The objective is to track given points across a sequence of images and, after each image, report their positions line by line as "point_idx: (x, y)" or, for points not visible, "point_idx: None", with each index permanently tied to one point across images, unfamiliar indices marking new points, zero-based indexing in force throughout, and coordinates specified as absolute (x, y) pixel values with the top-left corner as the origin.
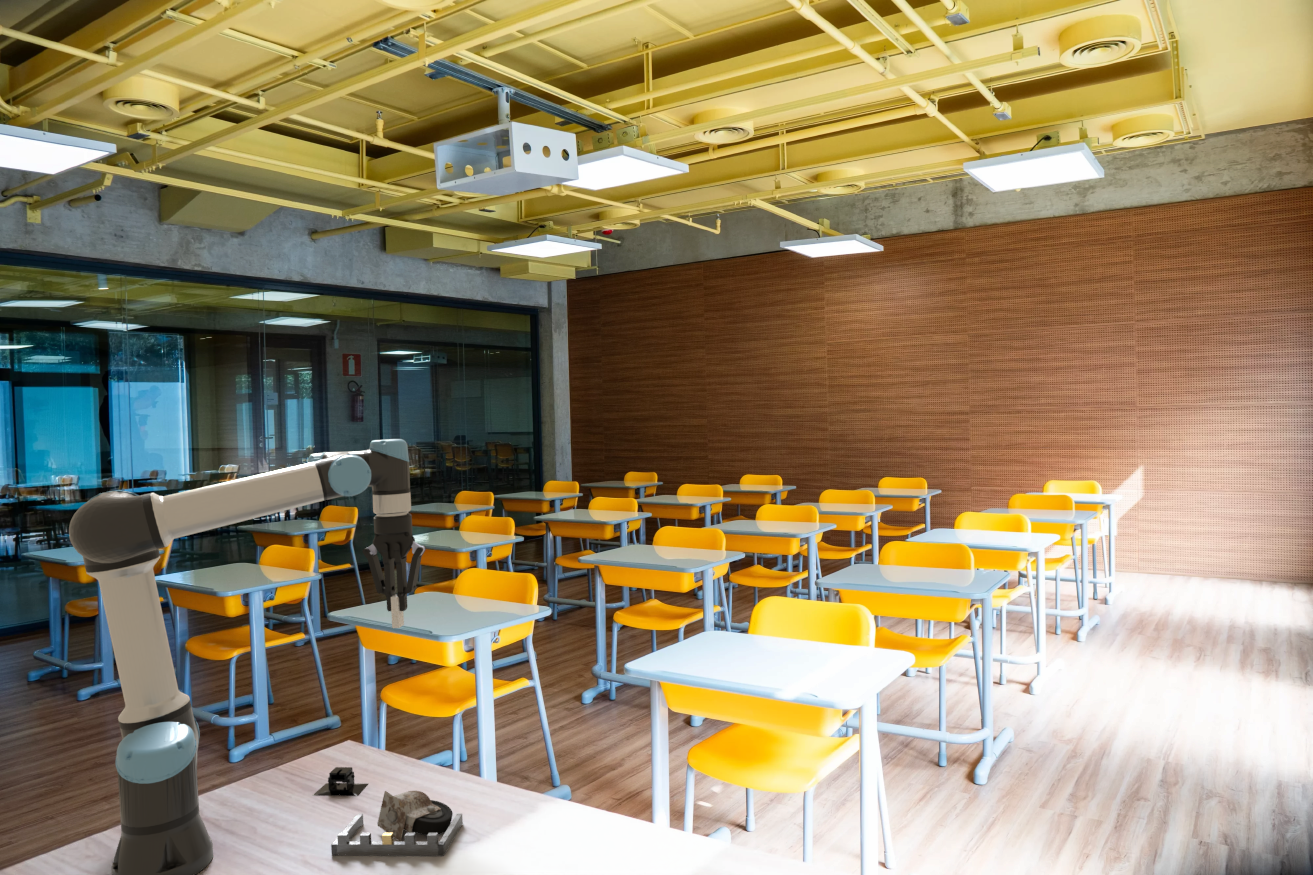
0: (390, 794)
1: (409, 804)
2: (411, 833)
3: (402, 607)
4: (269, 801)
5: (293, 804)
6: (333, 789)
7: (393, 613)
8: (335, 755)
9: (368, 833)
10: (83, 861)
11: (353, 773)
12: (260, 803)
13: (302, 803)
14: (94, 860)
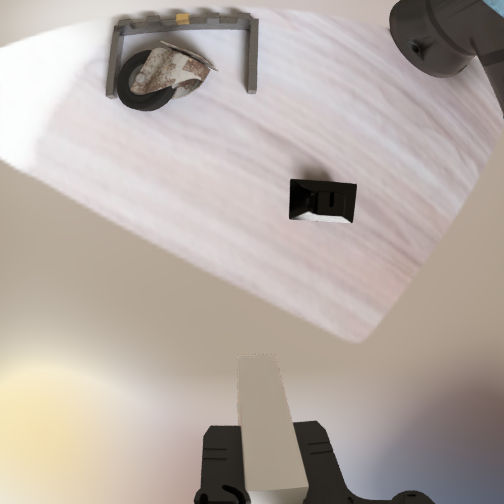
0: (191, 52)
1: (165, 60)
2: (150, 20)
3: (219, 440)
4: (403, 171)
5: (370, 158)
6: (332, 192)
7: (273, 402)
8: (368, 311)
9: (209, 17)
10: None
11: (312, 212)
12: (411, 166)
13: (360, 160)
14: None
